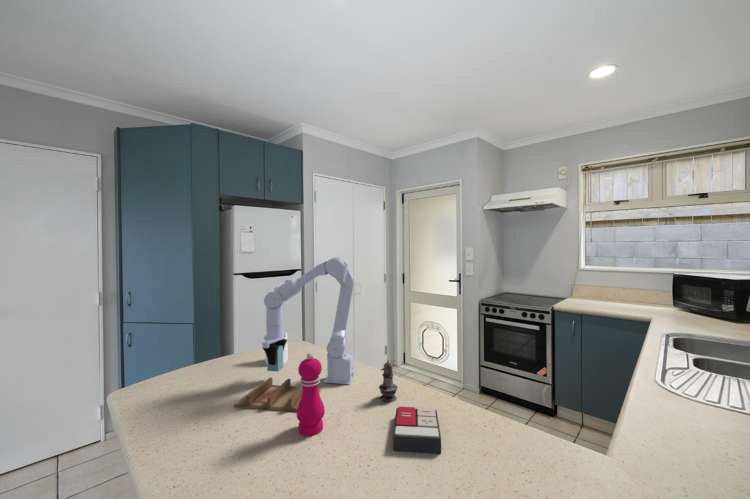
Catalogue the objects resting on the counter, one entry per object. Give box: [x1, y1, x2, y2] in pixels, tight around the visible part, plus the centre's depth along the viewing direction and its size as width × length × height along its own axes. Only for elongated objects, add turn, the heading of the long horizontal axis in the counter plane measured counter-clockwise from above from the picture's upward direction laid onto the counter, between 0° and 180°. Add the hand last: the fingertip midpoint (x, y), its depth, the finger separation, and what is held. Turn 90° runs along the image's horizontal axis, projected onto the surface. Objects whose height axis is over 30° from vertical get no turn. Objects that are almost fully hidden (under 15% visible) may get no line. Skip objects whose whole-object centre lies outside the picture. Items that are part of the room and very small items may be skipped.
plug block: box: [266, 345, 284, 372], centre depth 115 cm, size 4×4×8 cm
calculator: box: [392, 406, 442, 455], centre depth 81 cm, size 11×4×15 cm
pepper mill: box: [296, 352, 326, 437], centre depth 84 cm, size 7×7×20 cm
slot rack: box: [234, 377, 321, 413], centre depth 101 cm, size 22×14×4 cm, turn 81°
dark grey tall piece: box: [378, 360, 399, 403], centre depth 101 cm, size 6×6×12 cm
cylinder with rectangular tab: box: [264, 331, 289, 365], centre depth 135 cm, size 9×9×12 cm
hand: (275, 362), depth 115 cm, fingers closed on plug block, 4 cm apart
